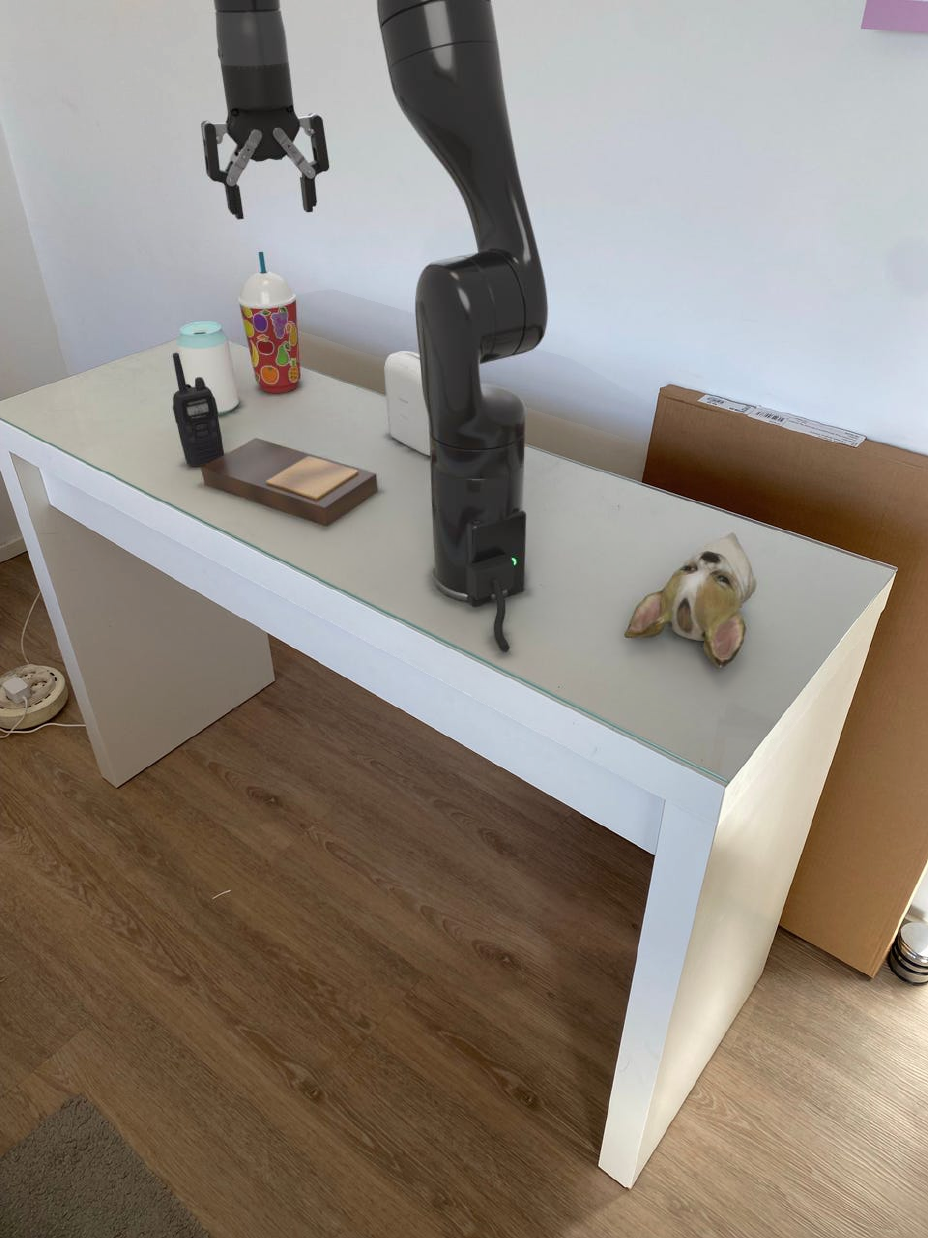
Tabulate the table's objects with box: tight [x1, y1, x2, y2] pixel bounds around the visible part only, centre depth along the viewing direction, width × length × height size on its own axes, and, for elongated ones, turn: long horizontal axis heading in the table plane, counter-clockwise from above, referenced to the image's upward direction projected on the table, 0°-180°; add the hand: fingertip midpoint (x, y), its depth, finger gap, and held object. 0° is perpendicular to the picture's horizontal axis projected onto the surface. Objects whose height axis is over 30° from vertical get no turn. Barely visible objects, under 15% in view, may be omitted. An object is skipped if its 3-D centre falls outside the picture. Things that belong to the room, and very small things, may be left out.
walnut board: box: [200, 437, 379, 527], centre depth 114 cm, size 20×10×3 cm, turn 58°
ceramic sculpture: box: [624, 532, 757, 670], centre depth 87 cm, size 11×9×15 cm
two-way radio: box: [172, 352, 225, 468], centre depth 117 cm, size 6×4×15 cm
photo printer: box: [383, 350, 430, 457], centre depth 121 cm, size 10×4×12 cm, turn 39°
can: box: [176, 320, 240, 416], centre depth 131 cm, size 7×7×12 cm
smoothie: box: [237, 251, 301, 394], centre depth 135 cm, size 8×8×20 cm
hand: (274, 214), depth 111 cm, fingers open, 8 cm apart
